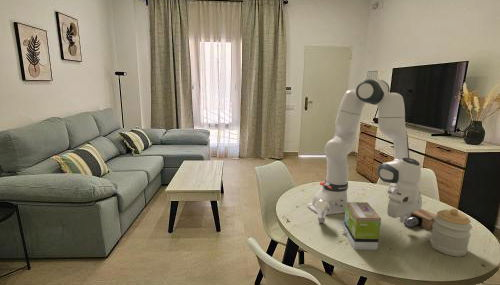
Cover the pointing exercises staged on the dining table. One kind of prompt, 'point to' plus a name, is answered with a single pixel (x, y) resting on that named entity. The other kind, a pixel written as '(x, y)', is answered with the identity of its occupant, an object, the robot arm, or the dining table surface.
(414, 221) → the axle
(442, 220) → the jar
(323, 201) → the light bulb
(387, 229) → the dining table surface
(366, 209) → the tea box
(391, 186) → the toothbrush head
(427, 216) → the bearing block
